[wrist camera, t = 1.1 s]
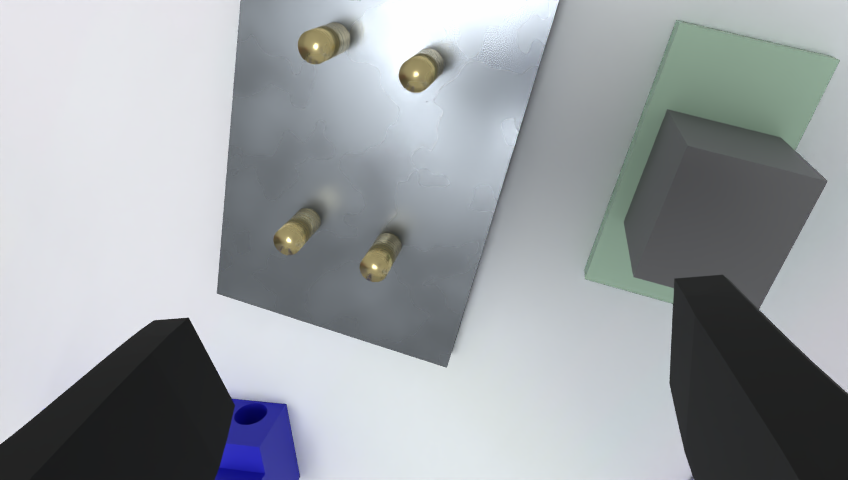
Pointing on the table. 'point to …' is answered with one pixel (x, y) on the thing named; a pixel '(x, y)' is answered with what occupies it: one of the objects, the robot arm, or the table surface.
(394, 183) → the chassis plate
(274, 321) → the table surface
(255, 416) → the cable clip
